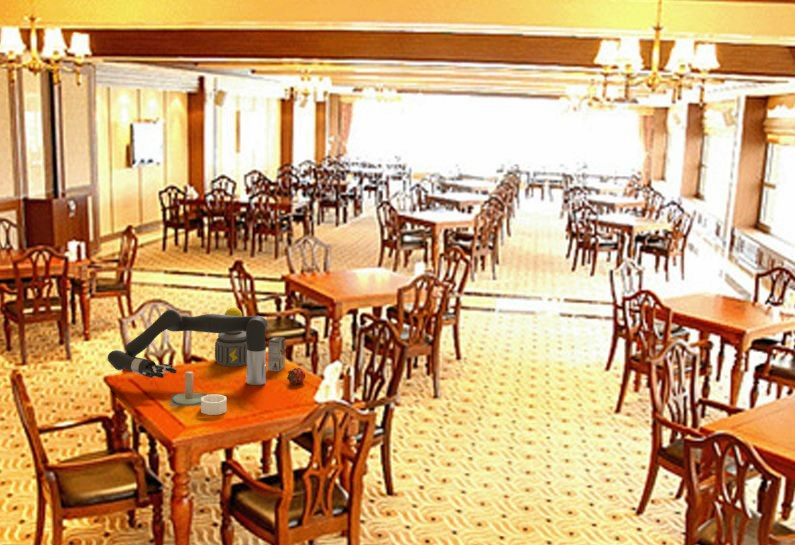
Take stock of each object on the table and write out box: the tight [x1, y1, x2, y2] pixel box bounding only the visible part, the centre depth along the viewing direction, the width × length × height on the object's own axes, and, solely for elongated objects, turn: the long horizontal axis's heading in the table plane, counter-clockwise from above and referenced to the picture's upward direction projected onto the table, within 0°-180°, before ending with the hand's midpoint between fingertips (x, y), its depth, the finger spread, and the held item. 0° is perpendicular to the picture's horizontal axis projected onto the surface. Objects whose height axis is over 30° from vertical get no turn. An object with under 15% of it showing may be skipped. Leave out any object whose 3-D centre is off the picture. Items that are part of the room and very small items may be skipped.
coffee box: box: [267, 336, 286, 372], centre depth 449 cm, size 9×6×16 cm
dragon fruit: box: [286, 367, 307, 385], centre depth 429 cm, size 8×8×12 cm
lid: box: [173, 371, 204, 405], centre depth 396 cm, size 14×14×13 cm
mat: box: [170, 393, 208, 407], centre depth 397 cm, size 16×16×1 cm
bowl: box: [200, 394, 228, 416], centre depth 385 cm, size 11×11×6 cm
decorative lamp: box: [214, 306, 247, 368], centre depth 456 cm, size 19×19×30 cm
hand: (169, 373), depth 400 cm, fingers open, 8 cm apart
